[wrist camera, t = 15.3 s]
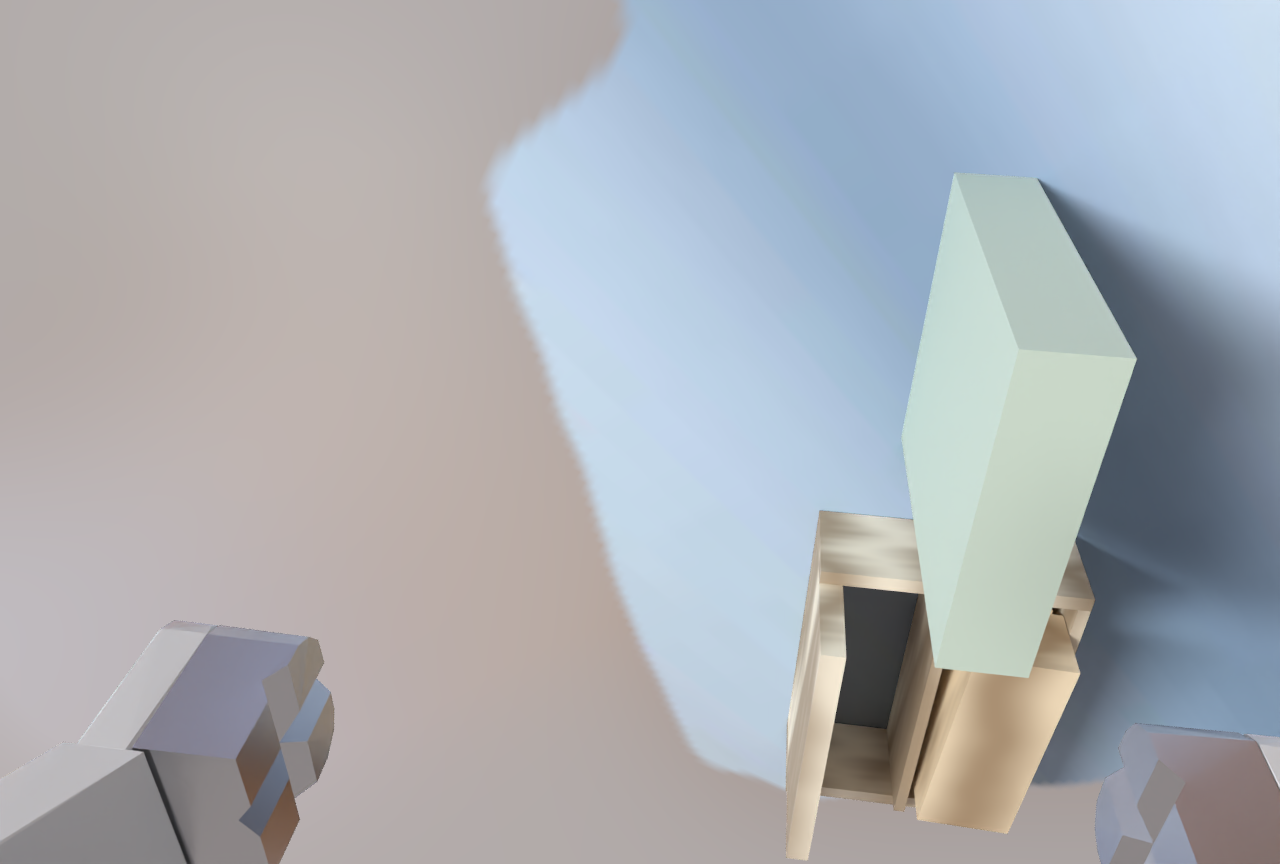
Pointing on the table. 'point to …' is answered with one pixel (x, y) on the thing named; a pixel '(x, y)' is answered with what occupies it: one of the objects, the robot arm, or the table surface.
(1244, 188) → the table surface
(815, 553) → the box
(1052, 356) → the sheet
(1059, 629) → the upper offcut
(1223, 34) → the table surface
